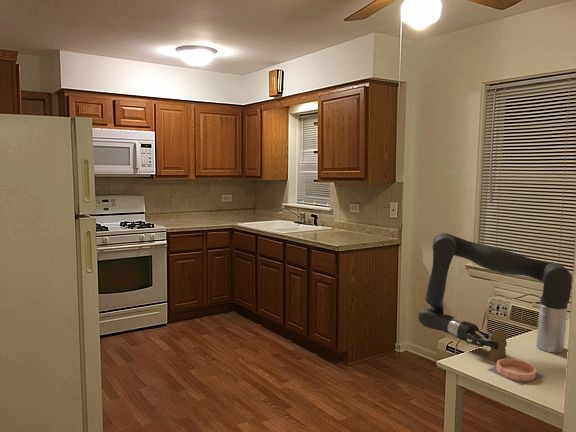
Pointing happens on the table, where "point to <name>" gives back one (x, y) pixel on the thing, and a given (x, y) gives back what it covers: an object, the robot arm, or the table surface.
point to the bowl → (516, 369)
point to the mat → (515, 380)
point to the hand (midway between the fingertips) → (501, 345)
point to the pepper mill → (500, 353)
